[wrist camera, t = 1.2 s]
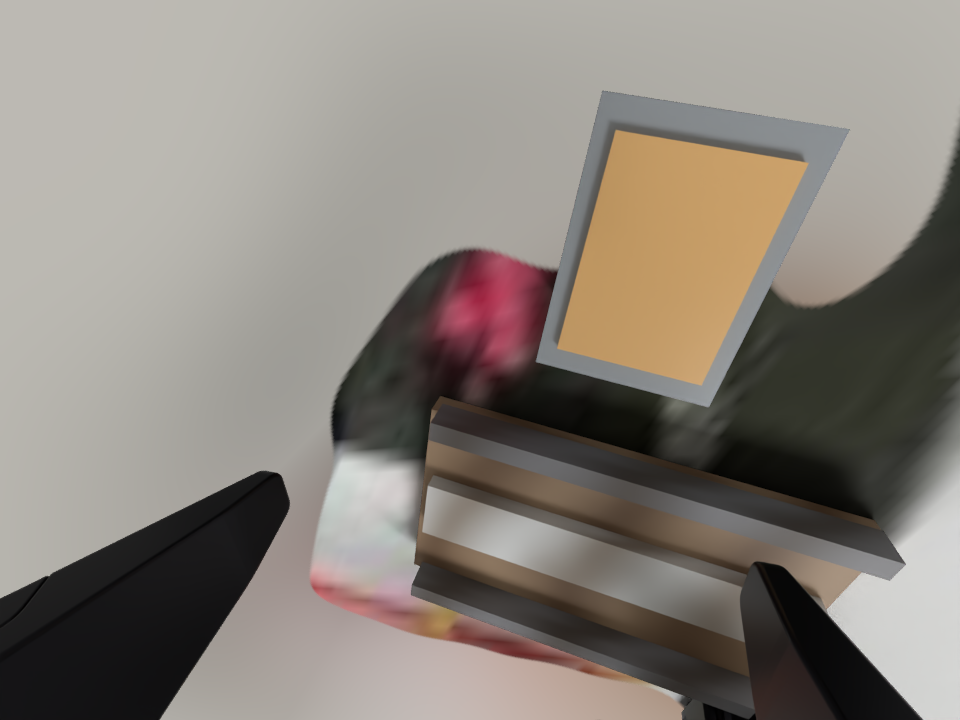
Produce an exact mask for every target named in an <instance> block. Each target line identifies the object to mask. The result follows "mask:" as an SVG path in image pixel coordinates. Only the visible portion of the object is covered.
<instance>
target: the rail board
mask: <svg viewBox="0 0 960 720" xmlns="http://www.w3.org/2000/svg"><path fill="white" fill-rule="evenodd" d="M755 561H760V562H766V563H771V564H777V565H780V566H782V567H784V568H785V569H787V570H788V571H789V572H790V573H791V575H792V576H793V577H794V578H795V579H796V580H797V581H798V582H799V583H800V585H801V586H802V587H803V588H804V589H805V590H806V591H807V592H808V593H809V594H810V596H811V597H812V598H813V599H814V600H815V601H816V602H817V603H818V604H819V605H820V607H821V608H822V609H823V610H824V611H825V612H826V613H827V610H826V609H827V608H828V607H829V606H830V605H831V604H832V603H833V602H834V601H835V600H836V599H837V598H838V597H839V596H840V594H841V593H842V592H843V591H844V590H845V589H846V588H847V587H848V586H849V585H850V584H851V583H852V582H853V581H854V580H855V579H856V578H857V577H858V575H859V574H860V573H861V572H863V573H866V574H870V575H873V576H876V577H879V578H883V579H886V580H889V581H890V580H891V579H892V578H893V577H894V576H895V575H896V574H897V573H898V572H899V571H900V570H901V569H902V568H903V567H904V566H905V565H906V564H905V562H904V561H903V559H902V558H901V556H900V555H899V553H898V552H897V550H896V549H895V547H894V546H893V544H892V543H891V541H890V540H889V538H888V537H887V535H886V534H885V532H884V531H882V530H881V529H880V528H879V526H878V525H877V523H876V522H875V520H872V519H868V518H865V517H861V516H858V515H854V514H851V513H847V512H844V511H840V510H837V509H833V508H830V507H826V506H823V505H819V504H816V503H812V502H809V501H805V500H802V499H798V498H795V497H791V496H788V495H784V494H781V493H777V492H774V491H770V490H767V489H763V488H760V487H756V486H753V485H749V484H746V483H742V482H739V481H735V480H732V479H728V478H725V477H721V476H718V475H714V474H711V473H707V472H704V471H700V470H697V469H693V468H690V467H686V466H683V465H679V464H676V463H672V462H669V461H665V460H662V459H658V458H655V457H651V456H648V455H644V454H641V453H637V452H634V451H630V450H627V449H623V448H620V447H616V446H613V445H609V444H606V443H602V442H599V441H595V440H592V439H589V438H585V437H582V436H578V435H575V434H571V433H568V432H564V431H561V430H557V429H554V428H550V427H547V426H543V425H540V424H536V423H533V422H529V421H526V420H522V419H519V418H515V417H512V416H508V415H505V414H501V413H498V412H494V411H491V410H487V409H484V408H480V407H477V406H473V405H470V404H466V403H463V402H459V401H456V400H452V399H449V398H445V397H442V396H440V397H439V399H438V400H437V402H436V403H435V405H434V406H433V408H432V411H431V420H430V429H429V438H428V447H427V455H426V464H425V473H424V482H423V491H422V499H421V508H420V517H419V526H418V535H417V543H416V552H415V561H414V564H416V565H418V566H420V568H419V570H418V572H417V575H416V577H415V579H414V581H413V584H412V589H411V595H412V596H415V597H418V598H420V599H423V600H426V601H428V602H431V603H434V604H437V605H439V606H442V607H445V608H447V609H450V610H453V611H456V612H458V613H461V614H464V615H466V616H469V617H472V618H475V619H477V620H480V621H483V622H485V623H488V624H491V625H494V626H496V627H499V628H502V629H504V630H507V631H510V632H513V633H515V634H518V635H521V636H523V637H526V638H529V639H532V640H534V641H537V642H540V643H542V644H545V645H548V646H551V647H553V648H556V649H559V650H561V651H564V652H567V653H570V654H572V655H575V656H578V657H580V658H583V659H586V660H589V661H591V662H594V663H597V664H599V665H602V666H605V667H608V668H610V669H613V670H616V671H618V672H621V673H624V674H627V675H629V676H632V677H635V678H637V679H640V680H643V681H646V682H648V683H651V684H654V685H656V686H659V687H662V688H665V689H667V690H670V691H673V692H675V693H678V694H681V695H684V696H686V697H689V698H692V699H694V700H697V701H700V702H703V703H705V704H708V705H711V706H713V707H716V708H719V709H722V710H724V711H727V712H730V713H732V714H735V715H738V716H741V717H743V718H746V719H750V718H751V717H752V716H753V715H754V714H755V709H754V703H753V697H752V690H751V683H750V676H749V668H748V661H747V654H746V647H745V640H744V632H743V625H742V618H741V611H740V593H741V590H742V587H743V585H744V582H745V579H746V577H747V574H748V572H749V569H750V567H751V565H752V563H754V562H755ZM827 614H828V613H827Z"/></svg>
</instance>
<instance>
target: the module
mask: <svg viewBox="0 0 960 720" xmlns="http://www.w3.org/2000/svg"><path fill="white" fill-rule="evenodd" d="M848 132H849V129H844V128H838V127H831V126H825V125H819V124H813V123H806V122H800V121H793V120H786V119H780V118H774V117H768V116H761V115H755V114H749V113H742V112H736V111H730V110H723V109H716V108H710V107H704V106H698V105H691V104H685V103H678V102H672V101H666V100H659V99H652V98H647V97H640V96H634V95H627V94H620V93H614V92H608V91H602V95H601V99H600V103H599V107H598V111H597V115H596V119H595V123H594V127H593V132H592V136H591V140H590V144H589V148H588V152H587V156H586V160H585V164H584V168H583V172H582V176H581V180H580V184H579V188H578V193H577V196H576V200H575V205H574V209H573V213H572V217H571V221H570V225H569V229H568V233H567V237H566V241H565V246H564V249H563V254H562V257H561V262H560V266H559V270H558V274H557V278H556V282H555V286H554V290H553V294H552V298H551V302H550V306H549V310H548V314H547V319H546V323H545V327H544V331H543V335H542V339H541V343H540V347H539V351H538V355H537V359H536V362H538V363H542V364H546V365H550V366H553V367H557V368H561V369H565V370H569V371H572V372H576V373H580V374H584V375H588V376H591V377H595V378H599V379H603V380H607V381H610V382H614V383H618V384H622V385H626V386H629V387H633V388H637V389H641V390H645V391H648V392H652V393H656V394H660V395H664V396H667V397H671V398H675V399H679V400H683V401H686V402H690V403H694V404H698V405H702V406H705V407H709V406H710V404H711V402H712V400H713V398H714V396H715V394H716V392H717V390H718V388H719V386H720V384H721V382H722V380H723V378H724V376H725V374H726V372H727V370H728V368H729V366H730V364H731V363H732V361H733V359H734V357H735V355H736V353H737V351H738V349H739V347H740V345H741V343H742V341H743V339H744V337H745V335H746V333H747V331H748V329H749V327H750V325H751V323H752V321H753V319H754V317H755V315H756V313H757V311H758V309H759V307H760V305H761V303H762V301H763V299H764V298H765V296H766V294H767V292H768V290H769V288H770V286H771V284H772V282H773V280H774V278H775V276H776V274H777V272H778V270H779V268H780V266H781V264H782V262H783V260H784V258H785V256H786V254H787V252H788V250H789V248H790V246H791V244H792V242H793V240H794V238H795V236H796V234H797V233H798V231H799V228H800V226H801V224H802V223H803V221H804V219H805V217H806V215H807V213H808V211H809V209H810V207H811V205H812V203H813V201H814V199H815V197H816V195H817V193H818V191H819V189H820V187H821V185H822V183H823V181H824V179H825V177H826V175H827V173H828V171H829V169H830V167H831V166H832V163H833V161H834V159H835V158H836V155H837V154H838V152H839V150H840V148H841V146H842V144H843V142H844V140H845V138H846V136H847V134H848Z"/></svg>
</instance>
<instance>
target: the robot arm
mask: <svg viewBox="0 0 960 720" xmlns="http://www.w3.org/2000/svg"><path fill="white" fill-rule="evenodd" d="M289 506H290V500H289V497H288V494H287V491H286V487H285V485H284V481H283V478H282V476H281V475H280V474H278V473H274V472H269V471H259V472H257V473H255V474H253V475H251V476H249V477H247V478H245V479H242V480H241V481H238V482H236V483H234V484H232V485H230V486H228V487H226V488H224V489H222V490H220V491H218V492H216V493H214V494H212V495H210V496H208V497H206V498H204V499H202V500H200V501H198V502H196V503H194V504H192V505H190V506H188V507H186V508H184V509H182V510H180V511H178V512H175V513H173V514H171V515H169V516H167V517H165V518H163V519H161V520H159V521H157V522H155V523H153V524H151V525H149V526H147V527H145V528H143V529H141V530H139V531H137V532H135V533H133V534H131V535H129V536H127V537H125V538H123V539H121V540H119V541H117V542H115V543H112V544H110V545H109V546H106V547H104V548H102V549H101V550H98V551H96V552H94V553H92V554H90V555H88V556H86V557H84V558H82V559H80V560H78V561H76V562H74V563H72V564H70V565H68V566H66V567H64V568H62V569H60V570H58V571H56V572H54V573H52V574H51V575H50V576H45V577H43V578H41V579H39V580H37V581H35V582H33V583H31V584H29V585H27V586H25V587H23V588H21V589H19V590H17V591H15V592H13V593H11V594H9V595H7V596H4V597H2V598H0V720H160V718H161V717H162V715H163V714H164V712H165V711H166V709H167V708H168V706H169V705H170V703H171V702H172V700H173V699H174V697H175V695H176V694H177V693H178V691H179V689H180V688H181V686H182V685H183V683H184V682H185V680H186V678H187V677H188V675H189V674H190V673H191V671H192V670H193V668H194V667H195V665H196V663H197V662H198V660H199V659H200V658H201V656H202V654H203V653H204V651H205V650H206V648H207V647H208V645H209V644H210V642H211V641H212V639H213V638H214V636H215V635H216V633H217V632H218V630H219V629H220V627H221V626H222V624H223V622H224V621H225V619H226V618H227V616H228V615H229V613H230V612H231V610H232V609H233V607H234V606H235V604H236V603H237V601H238V600H239V598H240V597H241V595H242V594H243V592H244V591H245V589H246V587H247V586H248V584H249V582H250V581H251V579H252V578H253V576H254V574H255V572H256V571H257V569H258V567H259V565H260V563H261V561H262V560H263V558H264V556H265V554H266V552H267V550H268V548H269V547H270V545H271V543H272V541H273V539H274V537H275V535H276V533H277V532H278V530H279V528H280V526H281V524H282V522H283V520H284V519H285V517H286V515H287V513H288V510H289ZM740 611H741V618H742V625H743V632H744V640H745V647H746V654H747V661H748V668H749V676H750V683H751V690H752V697H753V703H754V709H755V714H754V715H753V716H752V717H751V718H750V719H746V718H743V717H741V716H738V715H735V714H732V713H730V712H727V711H724V710H722V709H719V708H716V707H713V706H711V705H708V704H705V703H703V702H700V701H697V700H694V699H692V700H691V701H690V703H689V704H688V705H687V706H686V708H685V709H684V710H683V711H682V720H923V719H922V718H921V717H920V716H919V715H918V714H917V712H916V711H915V710H914V709H913V708H912V707H911V706H910V705H909V704H908V703H907V701H906V700H905V699H904V698H903V697H902V696H901V695H900V694H899V693H898V692H897V690H896V689H895V688H894V687H893V686H892V685H891V684H890V683H889V682H888V680H887V679H886V678H885V677H884V676H883V675H882V674H881V673H880V672H879V671H878V669H877V668H876V667H875V666H874V665H873V664H872V663H871V662H870V661H869V660H868V658H867V657H866V656H865V655H864V654H863V653H862V652H861V651H860V650H859V648H858V647H857V646H856V645H855V644H854V643H853V642H852V641H851V640H850V639H849V637H848V636H847V635H846V634H845V633H844V632H843V631H842V630H841V629H840V628H839V626H838V625H837V624H836V623H835V622H834V621H833V620H832V619H831V618H830V617H829V615H828V614H827V613H826V612H825V611H824V610H823V609H822V608H821V607H820V605H819V604H818V603H817V602H816V601H815V600H814V599H813V598H812V597H811V596H810V594H809V593H808V592H807V591H806V590H805V589H804V588H803V587H802V586H801V585H800V583H799V582H798V581H797V580H796V579H795V578H794V577H793V576H792V575H791V573H790V572H789V571H788V570H787V569H785V568H784V567H782V566H780V565H777V564H771V563H766V562H760V561H755V562H754V563H752V565H751V567H750V569H749V572H748V574H747V577H746V579H745V582H744V585H743V587H742V590H741V593H740Z"/></svg>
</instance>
